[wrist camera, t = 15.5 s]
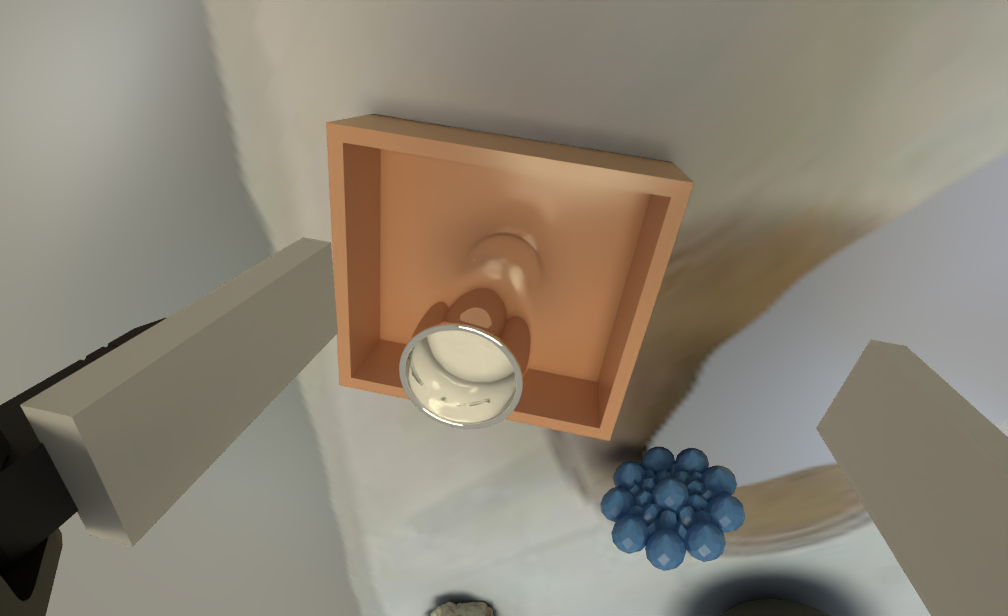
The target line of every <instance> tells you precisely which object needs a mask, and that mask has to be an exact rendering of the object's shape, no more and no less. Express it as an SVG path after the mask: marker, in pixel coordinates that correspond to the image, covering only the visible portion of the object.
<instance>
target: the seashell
mask: <svg viewBox="0 0 1008 616" xmlns="http://www.w3.org/2000/svg"><path fill="white" fill-rule="evenodd" d="M430 616H494V615H493V610H492V608H490V607H488V606H487V604H486V603H483V602H469V603H459V604H457V605H456V604H454V603H452V602H447V603H446V604H443V605H441V607H440V606H438V607H437V608H436V609H435V610H433V612H432V613H431V615H430Z"/></svg>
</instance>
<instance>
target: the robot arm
mask: <svg viewBox="0 0 1008 616" xmlns="http://www.w3.org/2000/svg"><path fill="white" fill-rule="evenodd" d="M337 333H338V327H337V314H336V301H335V288H334V275H333V262H332V249H331V242H326V241H320V240H315V239H309V238H301V239H300V240H298V241H296V242H295V243H293V244H291V245H289V246H288V247H286V248H284V249H283V250H281V251H279V252H278V253H276V254H274V255H273V256H271V257H269V258H268V259H266V260H264V261H263V262H261V263H259V264H257V265H256V266H254V267H252V268H251V269H249V270H247V271H246V272H244V273H242V274H240V275H239V276H237V277H235V278H234V279H232V280H231V281H229V282H227V283H225V284H224V285H222V286H220V287H219V288H217V289H215V290H214V291H212V292H210V293H208V294H207V295H205V296H203V297H202V298H200V299H198V300H197V301H195V302H193V303H191V304H190V305H188V306H186V307H185V308H183V309H182V310H180V311H178V312H176V313H175V314H173V315H171V316H170V317H168V318H163V319H161V320H158V321H155V322H152V323H149V324H146V325H143V326H140V327H137V328H135V329H133V330H131V331H129V332H128V333H126V334H124V335H122V336H121V337H119V338H117V339H115V340H114V341H112V342H110V343H108V346H107V347H101V348H100V349H98V350H96V351H94V352H93V353H91V354H89V355H87V356H86V359H85V360H79V361H77V362H75V363H73V364H72V365H70V366H68V367H67V368H65V369H63V370H61V371H60V372H58V373H56V374H54V375H53V376H51V377H49V378H47V379H46V380H44V381H42V382H40V383H38V384H37V385H35V386H33V387H31V388H30V389H28V390H26V391H24V392H23V393H21V394H19V395H17V396H16V397H14V398H13V399H10V400H9V401H7V402H5V403H4V404H2V405H0V616H45V615H46V611H47V607H48V603H49V599H50V595H51V591H52V586H53V582H54V578H55V574H56V570H57V566H58V562H59V558H60V554H61V549H62V533H61V532H60V530H59V527H60V526H61V525H62V524H63V523H64V522H66V521H67V520H68V519H69V518H70V517H71V516H72V515H74V514H75V513H76V512H78V514H79V516H80V518H81V520H82V521H83V523H84V525H85V527H86V529H87V531H88V533H89V535H90V536H94V537H98V538H102V539H105V540H109V541H113V542H117V543H121V544H125V545H129V546H134V545H135V544H136V543H137V542H138V541H139V540H140V539H141V538H142V537H143V535H144V534H145V533H146V532H147V531H148V530H149V529H150V528H151V527H152V526H153V525H154V524H155V523H156V522H157V521H158V520H159V519H160V518H161V517H162V516H163V515H164V514H165V513H166V511H167V510H168V509H169V508H170V507H171V506H172V505H173V504H174V503H175V502H176V501H177V500H178V499H179V498H180V497H181V496H182V495H183V494H184V493H185V492H186V491H187V490H188V488H189V487H190V486H191V485H192V484H193V483H194V482H195V481H196V480H197V479H198V478H199V477H200V476H201V475H202V474H203V473H204V472H205V471H206V470H207V469H208V468H209V467H210V465H211V464H212V463H213V462H214V461H215V460H216V459H217V458H218V457H219V456H220V455H221V454H222V453H223V452H224V451H225V450H226V449H227V448H228V447H229V446H230V445H231V444H232V443H233V442H234V441H235V439H236V438H237V437H238V436H239V435H240V434H241V433H242V432H243V431H244V430H245V429H246V428H247V427H248V426H249V425H250V424H251V423H252V422H253V420H255V419H256V418H257V417H258V415H259V414H260V413H261V412H262V411H263V410H264V409H265V408H266V407H267V406H268V405H269V404H270V403H271V402H272V401H273V400H274V399H275V398H276V397H277V396H278V395H279V394H280V393H281V391H282V390H283V389H284V388H285V387H286V386H287V385H288V384H289V383H290V382H291V381H292V380H293V379H294V378H295V377H296V376H297V375H298V374H299V373H300V372H301V371H302V370H303V368H304V367H305V366H306V365H307V364H308V363H309V362H310V361H311V360H312V359H313V358H314V357H315V356H316V355H317V354H318V353H319V352H320V351H321V350H322V349H323V348H324V347H325V346H326V344H327V343H328V342H329V341H330V340H331V339H332V338H333V337H334V336H335V335H336V334H337ZM817 430H818V432H819V434H820V435H821V437H822V438H823V440H824V442H825V443H826V445H827V447H828V448H829V450H830V451H831V453H832V455H833V456H834V458H835V460H836V461H837V463H838V465H839V466H840V468H841V469H842V471H843V473H844V474H845V476H846V478H847V479H848V481H849V482H850V484H851V486H852V487H853V489H854V491H855V492H856V494H857V495H858V497H859V499H860V500H861V502H862V504H863V505H864V507H865V509H866V510H867V512H868V513H869V515H870V517H871V518H872V520H873V522H874V523H875V525H876V526H877V528H878V530H879V531H880V533H881V535H882V536H883V538H884V539H885V541H886V543H887V544H888V546H889V548H890V549H891V551H892V553H893V554H894V556H895V557H896V559H897V561H898V562H899V564H900V566H901V567H902V569H903V570H904V572H905V574H906V575H907V577H908V579H909V580H910V582H911V583H912V585H913V587H914V588H915V590H916V592H917V593H918V595H919V597H920V598H921V600H922V601H923V603H924V605H925V606H926V608H927V610H928V611H929V613H930V614H931V616H1008V437H1007V436H1006V435H1005V434H1004V433H1002V432H1001V431H1000V430H999V429H998V428H997V427H996V426H995V425H994V424H992V423H991V422H990V421H989V420H988V419H987V418H986V417H985V416H983V415H982V414H981V413H980V412H979V411H978V410H977V409H976V408H974V407H973V406H972V405H971V404H970V403H969V402H968V401H967V400H966V399H964V398H963V397H962V396H961V395H960V394H959V393H958V392H957V391H956V390H955V389H953V388H952V387H951V386H950V385H949V384H948V383H947V382H946V381H944V380H943V379H942V378H941V377H940V376H939V375H938V374H937V373H936V372H934V371H933V370H932V369H931V368H930V367H929V366H928V365H927V364H925V363H924V362H923V361H922V360H921V359H920V358H919V357H918V356H916V355H915V354H914V353H913V352H912V351H911V350H910V349H909V348H908V347H907V346H903V345H897V344H891V343H886V342H881V341H875V340H870V342H869V343H868V345H867V346H866V348H865V350H864V351H863V353H862V355H861V356H860V358H859V359H858V361H857V363H856V364H855V366H854V368H853V369H852V371H851V372H850V374H849V376H848V377H847V379H846V381H845V382H844V384H843V386H842V387H841V389H840V390H839V392H838V394H837V395H836V397H835V399H834V400H833V402H832V404H831V405H830V407H829V408H828V410H827V412H826V413H825V415H824V417H823V418H822V420H821V421H820V423H819V425H818V426H817Z"/></svg>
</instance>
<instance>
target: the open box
mask: <svg viewBox="0 0 1008 616" xmlns="http://www.w3.org/2000/svg"><path fill="white" fill-rule="evenodd" d="M326 127H327V147H328V167H329V187H330V207H331V227H332V247H333V266H334V286H335V301H336V314H337V327H338V333H337V346H338V366H339V385H341V386H346V387H351V388H356V389H361V390H366V391H370V392H375V393H380V394H385V395H390V396H395V397H400V398H404V399H409V397H408V396H407V394H406V392H405V391H404V388H403V386H402V383H401V380H400V375H399V363H400V358H401V355H402V352H403V350H404V348H405V347H406V345H407V344H408V342H409V340H410V337H411V335H412V333H413V331H414V329H415V327H416V325H417V323H418V321H419V319H420V318H421V316H422V314H423V312H424V311H425V309H426V307H427V306H428V305H429V303H430V302H431V301H432V299H433V298H434V297H435V295H436V294H437V293H438V292H439V291H440V290H441V289H442V288H443V287H444V286H445V285H446V284H448V283H449V282H450V281H451V280H452V279H454V278H455V277H456V276H458V275H459V274H460V273H462V272H463V271H465V268H466V262H467V259H468V256H469V254H470V252H471V250H472V249H473V247H474V246H475V245H476V244H477V243H479V242H480V241H481V240H483V239H485V238H487V237H490V236H494V235H510V236H513V237H516V238H519V239H521V240H522V241H524V242H525V243H527V244H528V245H529V246H530V247H531V248H532V249H533V250H534V252H535V253H536V255H537V257H538V259H539V262H540V266H541V278H540V282H539V285H538V287H537V289H536V290H535V292H534V293H533V295H532V302H533V308H534V314H535V327H536V335H535V344H534V351H533V356H532V360H531V364H530V368H529V371H528V374H527V378H526V380H525V383H524V386H523V390H522V395H521V398H520V401H519V403H518V405H517V406H516V408H515V409H514V411H513V412H512V413H511V414H510V415H509V416H508V417H506V418H505V419H506V420H511V421H516V422H521V423H526V424H530V425H535V426H540V427H545V428H550V429H555V430H560V431H564V432H569V433H574V434H579V435H584V436H589V437H594V438H598V439H603V440H608V441H610V438H611V435H612V432H613V429H614V426H615V423H616V420H617V417H618V414H619V410H620V407H621V404H622V401H623V398H624V395H625V392H626V389H627V386H628V383H629V380H630V377H631V374H632V371H633V368H634V365H635V362H636V359H637V356H638V353H639V350H640V347H641V344H642V341H643V337H644V334H645V331H646V328H647V325H648V322H649V319H650V316H651V313H652V310H653V307H654V304H655V301H656V298H657V295H658V292H659V289H660V286H661V283H662V280H663V277H664V274H665V271H666V268H667V264H668V261H669V258H670V255H671V252H672V249H673V246H674V243H675V240H676V237H677V234H678V231H679V228H680V225H681V222H682V219H683V216H684V213H685V210H686V207H687V204H688V201H689V198H690V195H691V191H692V188H693V185H694V182H693V181H692V180H691V179H689V178H688V177H687V176H686V175H685V174H684V173H683V172H682V171H681V170H680V169H679V168H678V167H677V166H676V165H674V164H673V163H672V162H667V161H661V160H655V159H648V158H642V157H636V156H630V155H624V154H617V153H611V152H605V151H599V150H593V149H587V148H580V147H574V146H568V145H562V144H556V143H549V142H543V141H537V140H531V139H525V138H519V137H512V136H506V135H500V134H494V133H488V132H481V131H475V130H469V129H463V128H457V127H451V126H444V125H438V124H432V123H426V122H420V121H413V120H407V119H401V118H395V117H389V116H383V115H376V114H370V115H365V116H359V117H354V118H348V119H343V120H337V121H332V122H326ZM409 400H410V399H409Z"/></svg>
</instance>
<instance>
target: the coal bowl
mask: <svg viewBox="0 0 1008 616" xmlns="http://www.w3.org/2000/svg"><path fill="white" fill-rule="evenodd" d="M720 616H829V615H827V614H826V613H824V612H821V611H819V610H817V609H814V608H812V607H809V606H806V605H803V604H799V603H796V602H791V601H786V600H778V599H762V600H754V601H749V602H745V603H742V604H739V605H737V606H735V607H733V608H731V609H729V610H728V611H726V612H724V613H723V614H722V615H720Z"/></svg>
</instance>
